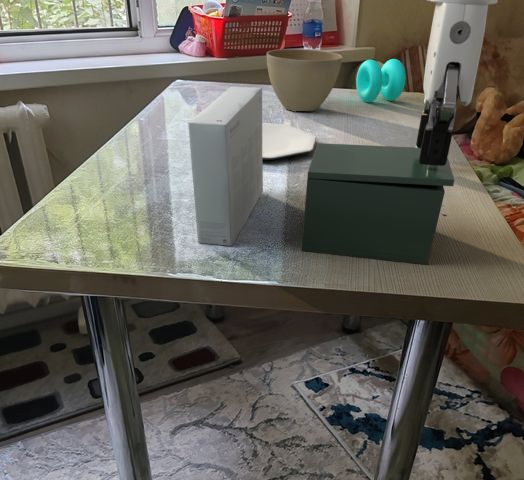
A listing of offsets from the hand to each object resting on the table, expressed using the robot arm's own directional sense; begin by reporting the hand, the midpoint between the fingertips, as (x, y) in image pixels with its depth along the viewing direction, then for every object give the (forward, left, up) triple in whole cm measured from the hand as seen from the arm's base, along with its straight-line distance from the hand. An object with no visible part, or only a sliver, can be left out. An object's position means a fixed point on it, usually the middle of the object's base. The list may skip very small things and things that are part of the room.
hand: (430, 154), depth 69 cm
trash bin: (+6, 0, -12) cm, 14 cm away
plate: (+29, -39, -12) cm, 50 cm away
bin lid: (+6, 0, -2) cm, 6 cm away
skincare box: (+26, -3, -12) cm, 29 cm away
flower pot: (+24, -73, -12) cm, 78 cm away
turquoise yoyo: (+5, -88, -12) cm, 89 cm away
